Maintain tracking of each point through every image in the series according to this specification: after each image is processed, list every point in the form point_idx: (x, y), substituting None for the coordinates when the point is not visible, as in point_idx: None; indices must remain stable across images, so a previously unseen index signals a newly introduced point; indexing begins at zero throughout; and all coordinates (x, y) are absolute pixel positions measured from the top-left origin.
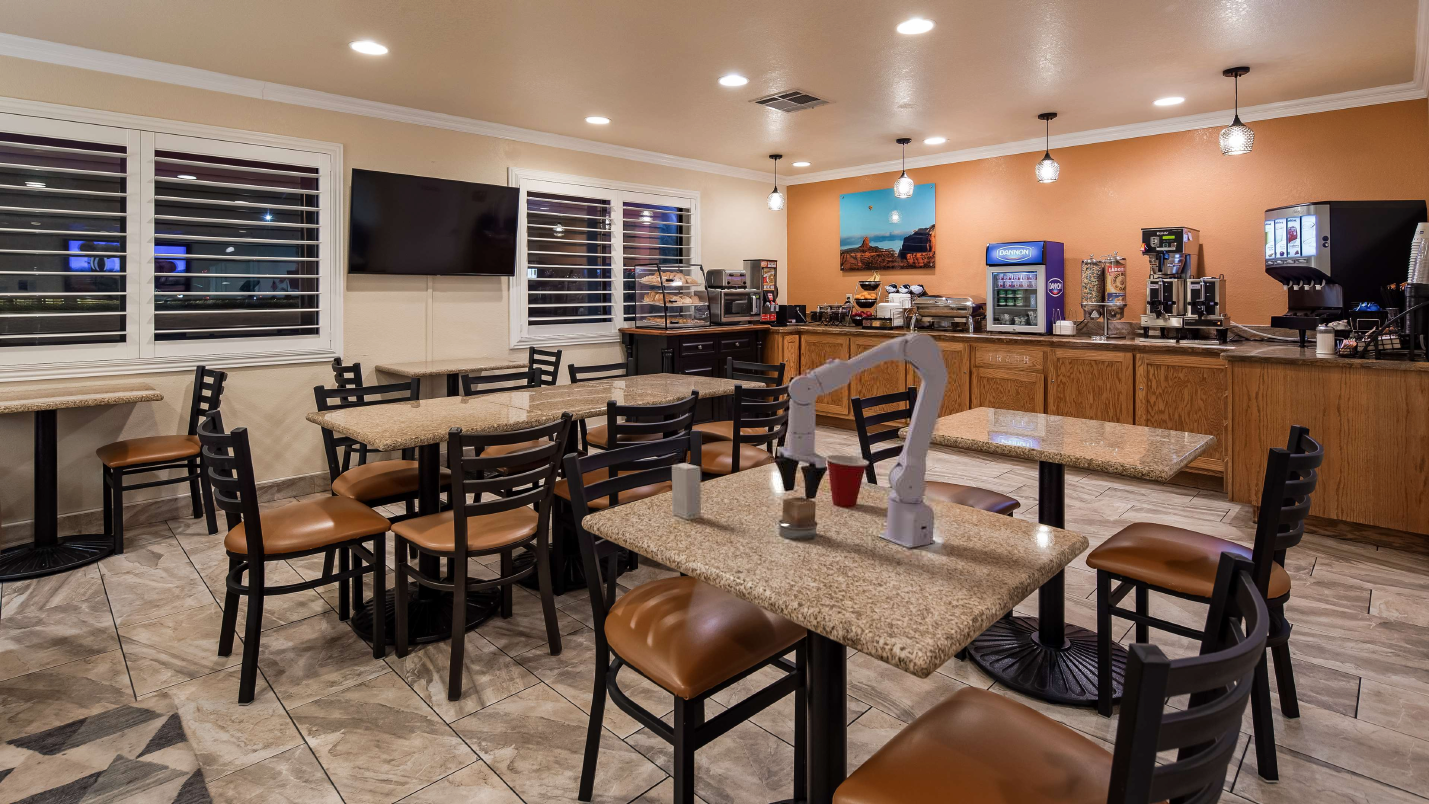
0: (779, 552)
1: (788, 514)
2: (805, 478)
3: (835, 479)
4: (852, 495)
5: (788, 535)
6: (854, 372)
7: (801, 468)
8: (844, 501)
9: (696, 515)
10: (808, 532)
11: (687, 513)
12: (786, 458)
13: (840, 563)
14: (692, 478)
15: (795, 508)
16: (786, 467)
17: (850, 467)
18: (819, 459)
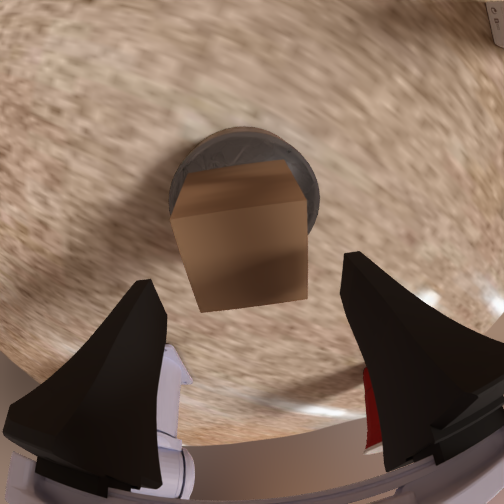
0: (92, 59)
1: (244, 178)
2: (82, 371)
3: None
4: (366, 389)
5: (206, 139)
6: None
7: (46, 433)
8: None
9: (496, 29)
10: None
11: (497, 2)
12: (440, 446)
13: (8, 193)
14: None
15: (187, 205)
16: (410, 381)
17: (378, 439)
18: (9, 498)
